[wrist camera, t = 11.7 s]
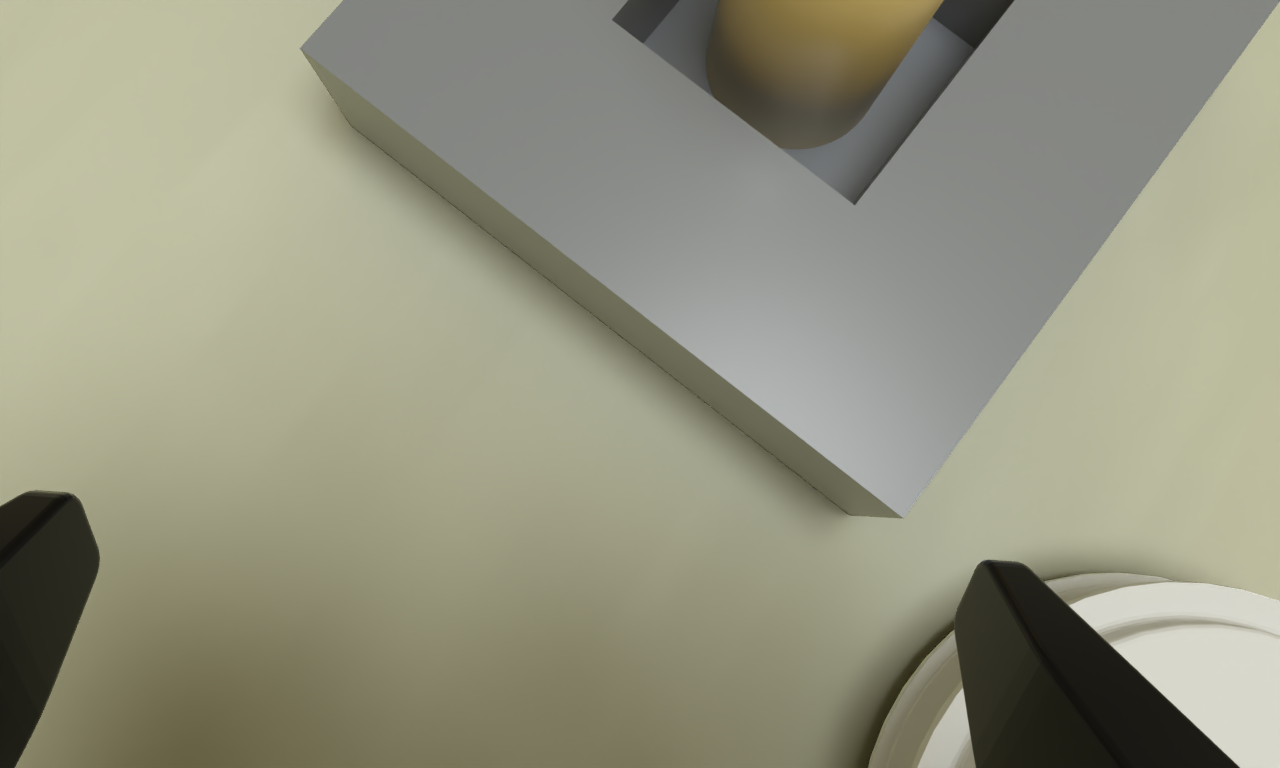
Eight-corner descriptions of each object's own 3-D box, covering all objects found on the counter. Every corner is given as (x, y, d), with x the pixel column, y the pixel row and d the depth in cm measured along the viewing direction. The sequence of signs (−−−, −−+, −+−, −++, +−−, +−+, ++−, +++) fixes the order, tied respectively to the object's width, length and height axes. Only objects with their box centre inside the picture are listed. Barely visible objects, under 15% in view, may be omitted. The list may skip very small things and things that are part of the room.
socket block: (1197, 43, 25) (1312, -44, 21) (849, 515, 23) (903, 518, 19) (728, -302, 25) (753, -451, 21) (350, 125, 23) (300, 48, 19)
